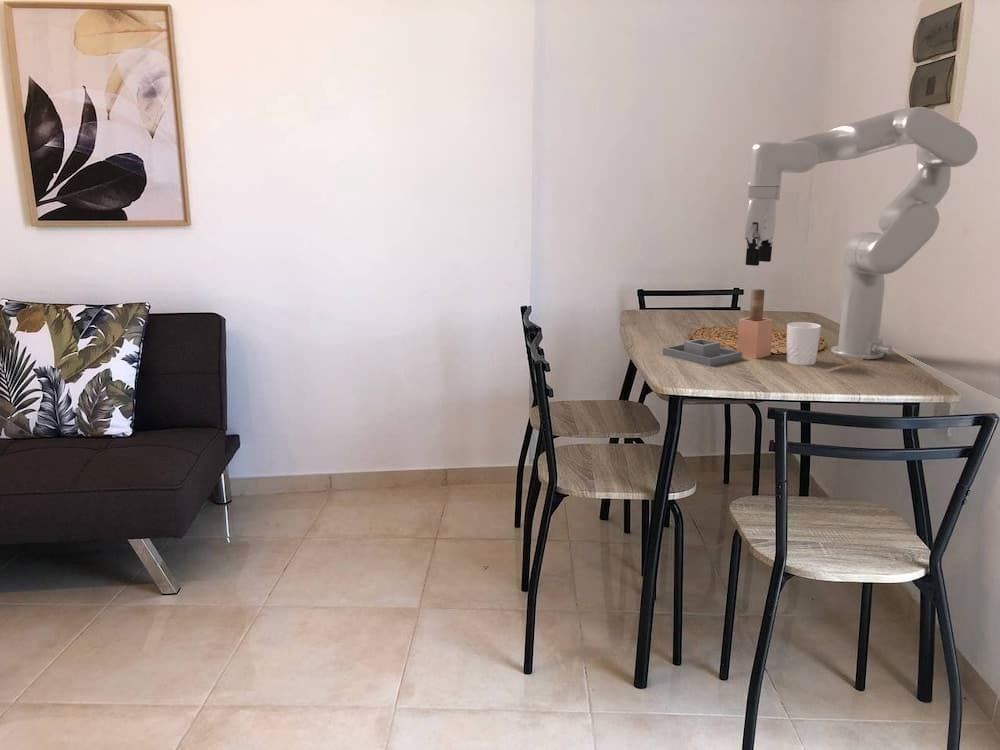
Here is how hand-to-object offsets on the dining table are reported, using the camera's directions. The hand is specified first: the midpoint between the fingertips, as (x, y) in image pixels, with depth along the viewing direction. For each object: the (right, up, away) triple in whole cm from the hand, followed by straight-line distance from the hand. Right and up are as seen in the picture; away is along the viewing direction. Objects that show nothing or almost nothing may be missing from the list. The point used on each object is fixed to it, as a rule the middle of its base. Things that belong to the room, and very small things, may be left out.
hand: (758, 263), depth 199 cm
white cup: (+10, -26, -1) cm, 28 cm away
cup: (+1, -24, +6) cm, 25 cm away
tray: (-13, -24, +5) cm, 28 cm away
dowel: (+1, -23, +6) cm, 24 cm away
